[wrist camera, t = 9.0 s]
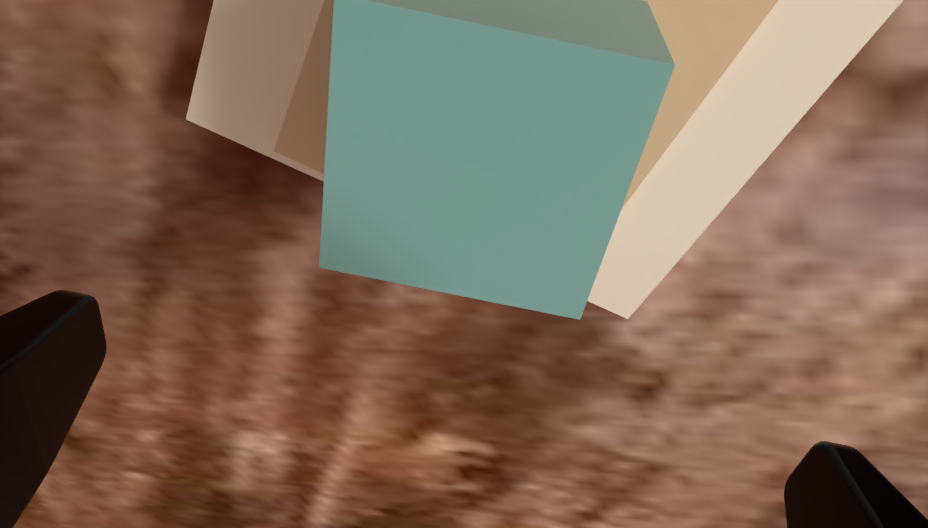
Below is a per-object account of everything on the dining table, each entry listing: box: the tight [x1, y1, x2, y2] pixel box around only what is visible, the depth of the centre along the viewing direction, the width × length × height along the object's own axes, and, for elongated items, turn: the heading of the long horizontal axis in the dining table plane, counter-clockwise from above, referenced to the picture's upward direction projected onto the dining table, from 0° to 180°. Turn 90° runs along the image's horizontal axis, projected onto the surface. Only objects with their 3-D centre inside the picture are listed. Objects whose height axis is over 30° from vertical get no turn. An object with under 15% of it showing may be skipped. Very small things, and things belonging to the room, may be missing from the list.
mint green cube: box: [319, 0, 675, 320], centre depth 15 cm, size 6×6×4 cm
